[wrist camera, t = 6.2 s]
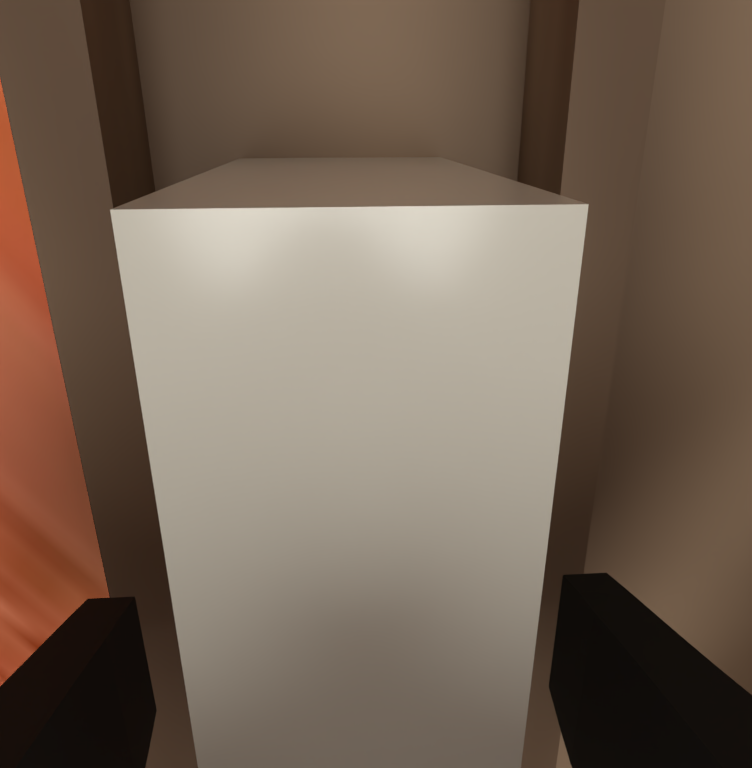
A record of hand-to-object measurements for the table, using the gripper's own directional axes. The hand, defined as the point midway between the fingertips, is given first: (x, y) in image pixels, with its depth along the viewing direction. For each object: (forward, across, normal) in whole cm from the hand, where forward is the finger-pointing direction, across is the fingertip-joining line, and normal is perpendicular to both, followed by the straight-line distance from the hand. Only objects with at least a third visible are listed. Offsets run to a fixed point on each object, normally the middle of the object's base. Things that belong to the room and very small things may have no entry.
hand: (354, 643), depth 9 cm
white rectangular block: (+3, 0, 0) cm, 3 cm away
